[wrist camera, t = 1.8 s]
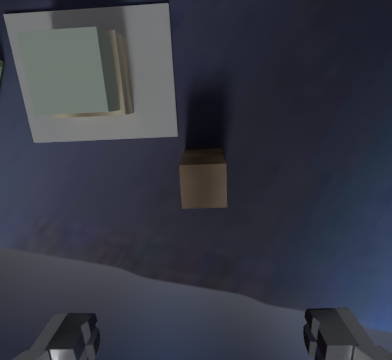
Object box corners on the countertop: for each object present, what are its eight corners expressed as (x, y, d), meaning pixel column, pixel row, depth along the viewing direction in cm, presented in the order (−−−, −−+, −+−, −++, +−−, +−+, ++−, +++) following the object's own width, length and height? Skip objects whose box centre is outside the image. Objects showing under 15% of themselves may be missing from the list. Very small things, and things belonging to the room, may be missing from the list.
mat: (168, 4, 28) (168, 2, 27) (178, 135, 32) (177, 136, 32) (6, 15, 29) (3, 14, 28) (35, 142, 33) (33, 142, 32)
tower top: (110, 35, 25) (96, 26, 22) (120, 110, 27) (108, 111, 24) (40, 40, 26) (16, 31, 22) (55, 113, 28) (35, 115, 24)
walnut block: (221, 148, 32) (226, 163, 25) (221, 182, 34) (226, 207, 26) (185, 149, 32) (179, 165, 25) (187, 183, 34) (182, 208, 26)
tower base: (125, 37, 28) (114, 29, 25) (134, 113, 31) (125, 114, 28) (54, 42, 29) (34, 34, 26) (68, 116, 31) (52, 118, 28)
